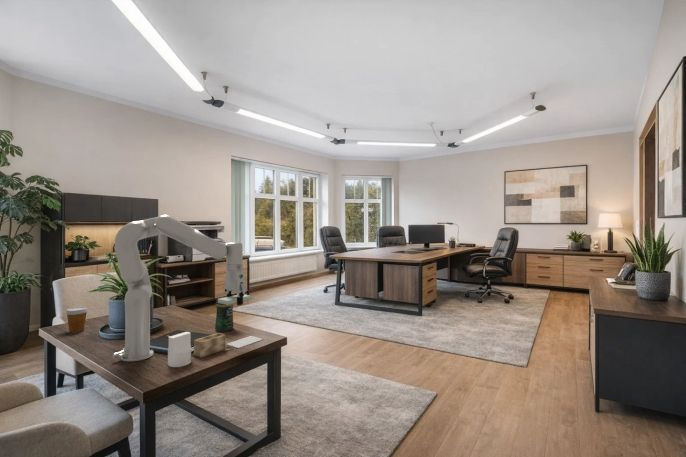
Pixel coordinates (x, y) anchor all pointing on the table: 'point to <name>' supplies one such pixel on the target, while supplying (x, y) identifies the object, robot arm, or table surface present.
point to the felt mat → (244, 342)
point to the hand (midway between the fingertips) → (234, 303)
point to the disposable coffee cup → (76, 318)
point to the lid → (232, 299)
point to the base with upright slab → (179, 350)
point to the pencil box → (209, 345)
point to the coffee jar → (224, 316)
